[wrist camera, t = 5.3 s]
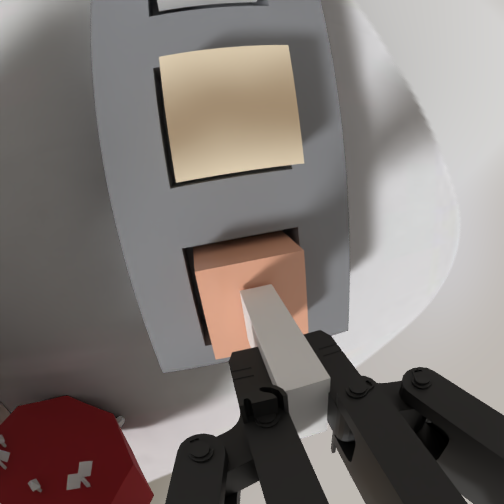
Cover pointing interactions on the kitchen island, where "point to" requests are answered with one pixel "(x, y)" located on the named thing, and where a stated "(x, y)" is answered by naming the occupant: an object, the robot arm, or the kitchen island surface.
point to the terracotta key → (247, 283)
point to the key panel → (221, 186)
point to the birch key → (231, 110)
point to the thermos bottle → (3, 413)
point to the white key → (193, 3)
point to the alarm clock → (68, 456)
